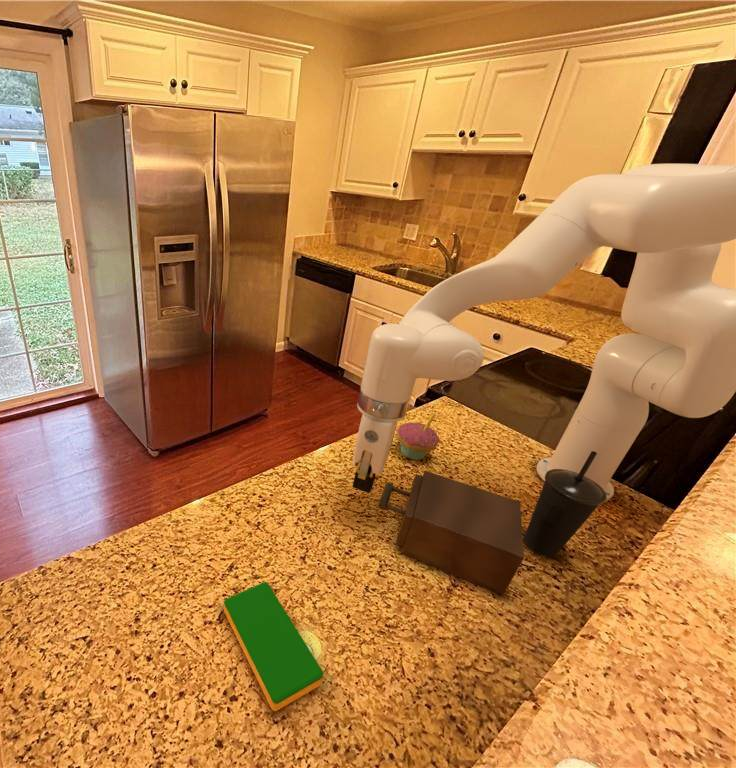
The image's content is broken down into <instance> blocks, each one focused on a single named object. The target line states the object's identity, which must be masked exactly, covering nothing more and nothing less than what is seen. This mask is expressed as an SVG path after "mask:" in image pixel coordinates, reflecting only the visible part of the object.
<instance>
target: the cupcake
mask: <svg viewBox="0 0 736 768" xmlns="http://www.w3.org/2000/svg"><path fill="white" fill-rule="evenodd" d="M436 414H437V411H434V413H431V415H430V416H429V419H428V420H427V422H426V423H424V424H423V423H420V422H415V421H414V422H410V421H409V422H406V423H403V424H401V425H399V427H397V428H396V432H395V438H396V440H397V442H399V443H400V451H401V454H402V455H403V456H405V457H406V458H408V459H411V460H417V461H418V460H422V459H424V458H425V457H426V456H427V454H428V453H430V452H431V451H435V450H436V448H437V447H438V445H439V444H440V441H441V439H440V438H439V436H438V435H437V432H436V431H435V430H434V429H433V428H432V427H431V424H432V422H433V420H434V419H435V417H436Z"/></svg>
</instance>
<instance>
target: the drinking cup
mask: <svg viewBox="0 0 736 768" xmlns="http://www.w3.org/2000/svg"><path fill="white" fill-rule="evenodd" d="M596 455H597V453H596V452H594V451H591V453H590V455H589V457H588V458H587V460H586V462H585V463H584V465H583V467H582V469H581V470H580V472H579V473H576V472H573V471H569V470H564V469H552V470H549V471H548V472H547V473H546V474H545V481H543V482H544V483H543V484H542V487H541V490H540V494H539V496H538V499H537V502H536V504H535V507H534V510H533V512H532V514H531V516H530V517H531V518H530V520H529V522H528V524H527V525H528V526H527V528H526V530H525V533H524V535H523V542H524V543H525V545H526V546H527V548H529V549H530V550H531V551H533V552H534V553H535V554H537V555H540V556H543V557H545V558H548V557H549V558H554V557H556V556H557V555H558V554H559V553H560V552H561V550H562V549H563V548H564V547H565V546H566V545H567V543H568V542H569V541H570V540H571V539H572V538H573V536H574V535H575V534H576V533H577V531H578V530H579V529H581V527H582V526H583V525H584V524H585V522H586V521H587V520H588V519H589V517H590V516H591V515H593V513H594V512H595V510H597V509H598V507H599V506H601V505H602V504H604V503H605V501H606V499H607V496H606V493H605V491H604V490H603V489H602V487H600V486H599V485H598V484H597V483H596V482H594V481H593V480H591V479H589V478H587V477H585V476H584V475H585V474H586V472H587V470H588V468H589V467H590V465H591V463H592V462H593V460H594V458H595V456H596ZM606 502H607V501H606Z"/></svg>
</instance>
